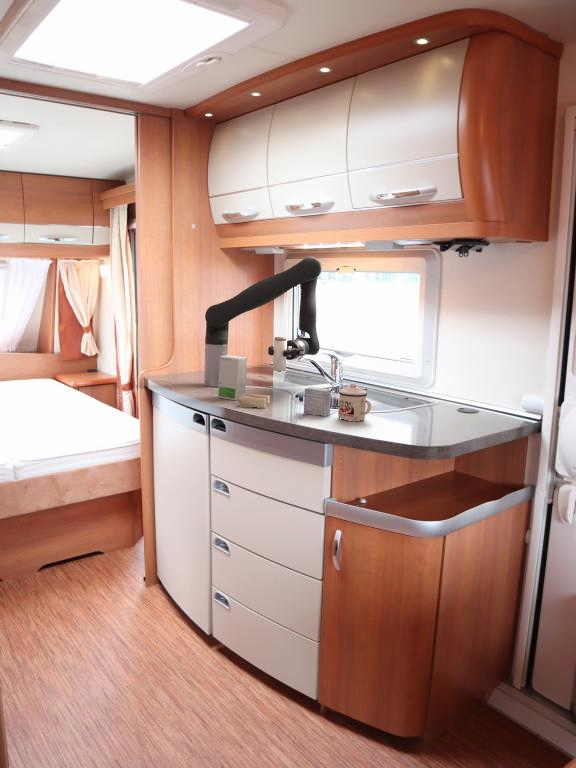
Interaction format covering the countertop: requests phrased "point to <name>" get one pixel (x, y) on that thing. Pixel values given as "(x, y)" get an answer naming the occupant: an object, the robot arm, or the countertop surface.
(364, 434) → the countertop surface
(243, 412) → the countertop surface
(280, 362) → the spice jar
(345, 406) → the teacup with lid
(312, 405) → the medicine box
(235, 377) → the skincare box
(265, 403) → the plinth
